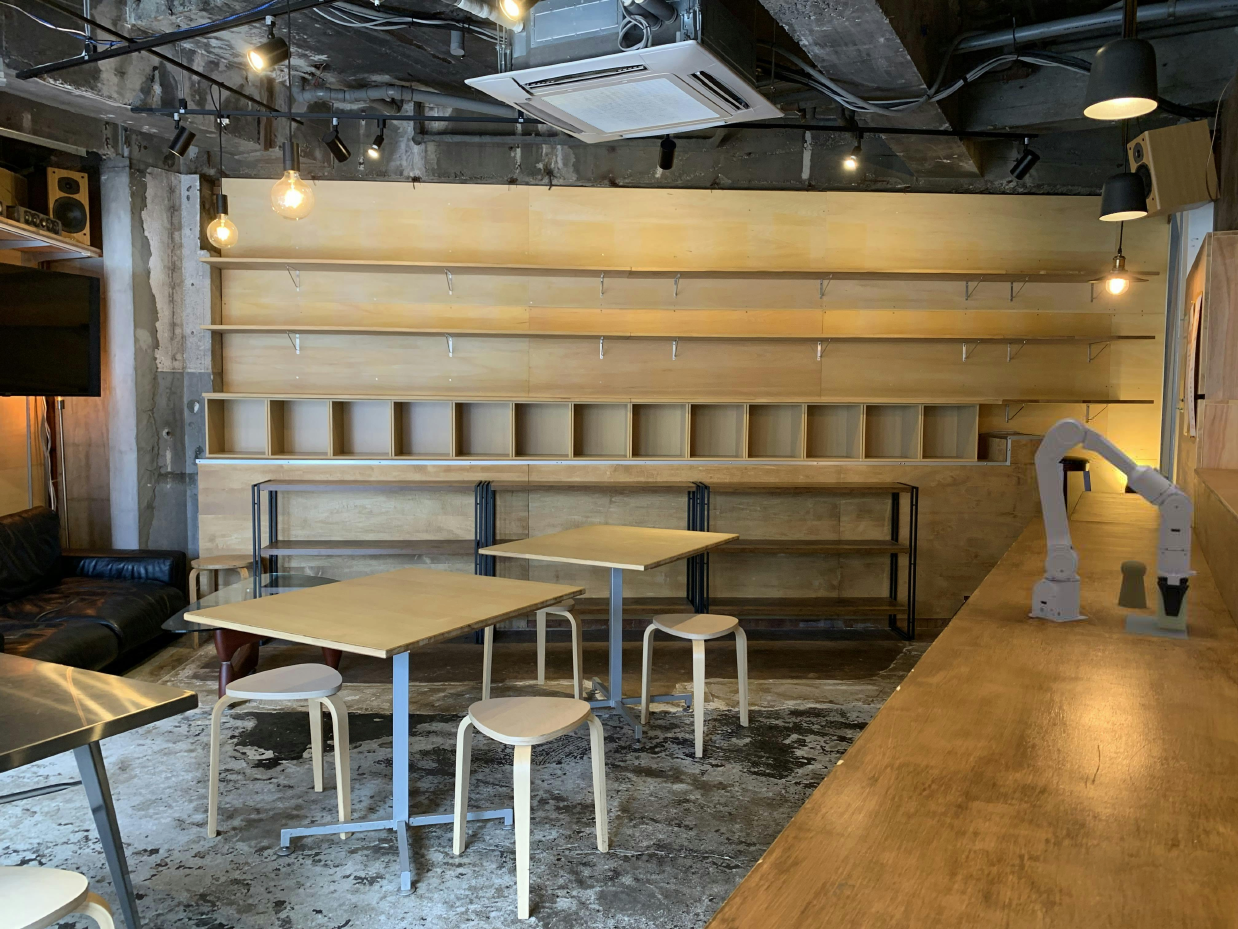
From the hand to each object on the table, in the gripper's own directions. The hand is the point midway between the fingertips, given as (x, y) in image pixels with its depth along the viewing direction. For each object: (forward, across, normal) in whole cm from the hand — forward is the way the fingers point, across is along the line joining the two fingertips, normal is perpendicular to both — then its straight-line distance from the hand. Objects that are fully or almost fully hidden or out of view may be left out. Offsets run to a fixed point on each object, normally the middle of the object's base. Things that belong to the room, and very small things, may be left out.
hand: (1171, 613), depth 186 cm
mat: (+3, -1, +3) cm, 4 cm away
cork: (+4, +19, +8) cm, 21 cm away
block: (+3, 0, 0) cm, 3 cm away
